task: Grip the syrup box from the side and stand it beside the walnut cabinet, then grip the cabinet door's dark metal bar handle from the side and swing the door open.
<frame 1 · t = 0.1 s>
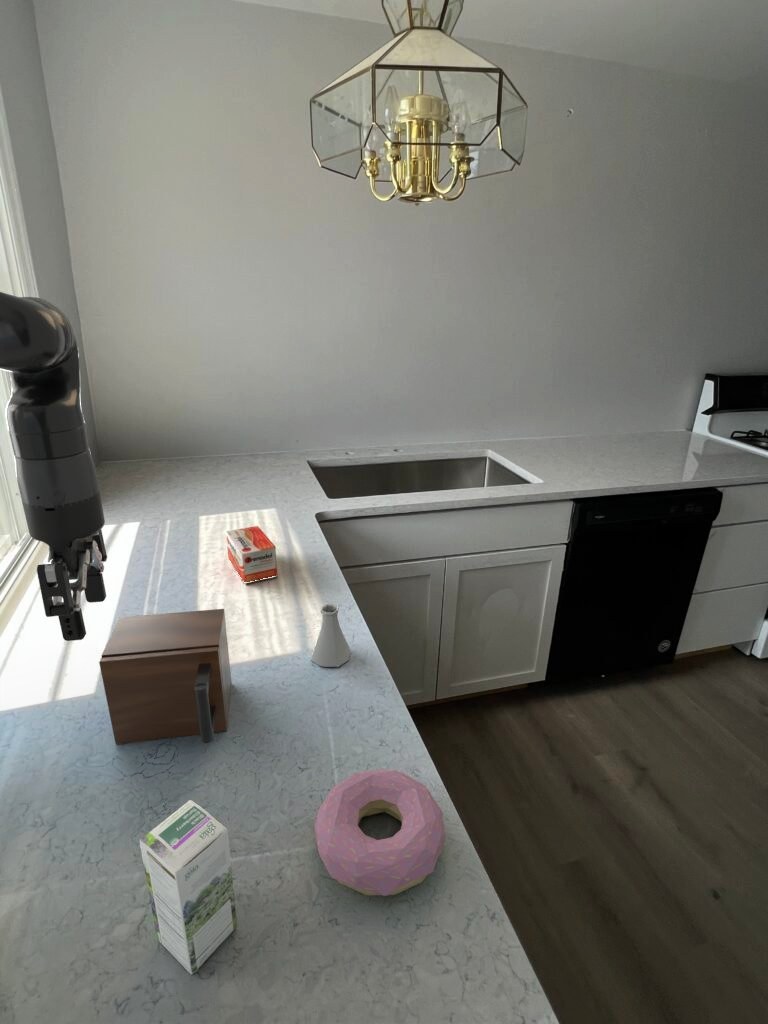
hand: (86, 618, 67), 24 cm above the worktop, tool pointing down, fingers open, 8 cm apart
syrup box: (199, 936, 57), on the worktop
medicine box: (252, 569, 133), on the worktop
donut: (379, 842, 67), on the worktop
cabinet: (178, 709, 87), on the worktop
flask: (330, 657, 101), on the worktop
door: (163, 709, 77), point 7 cm above the worktop, hinge at 0.0°
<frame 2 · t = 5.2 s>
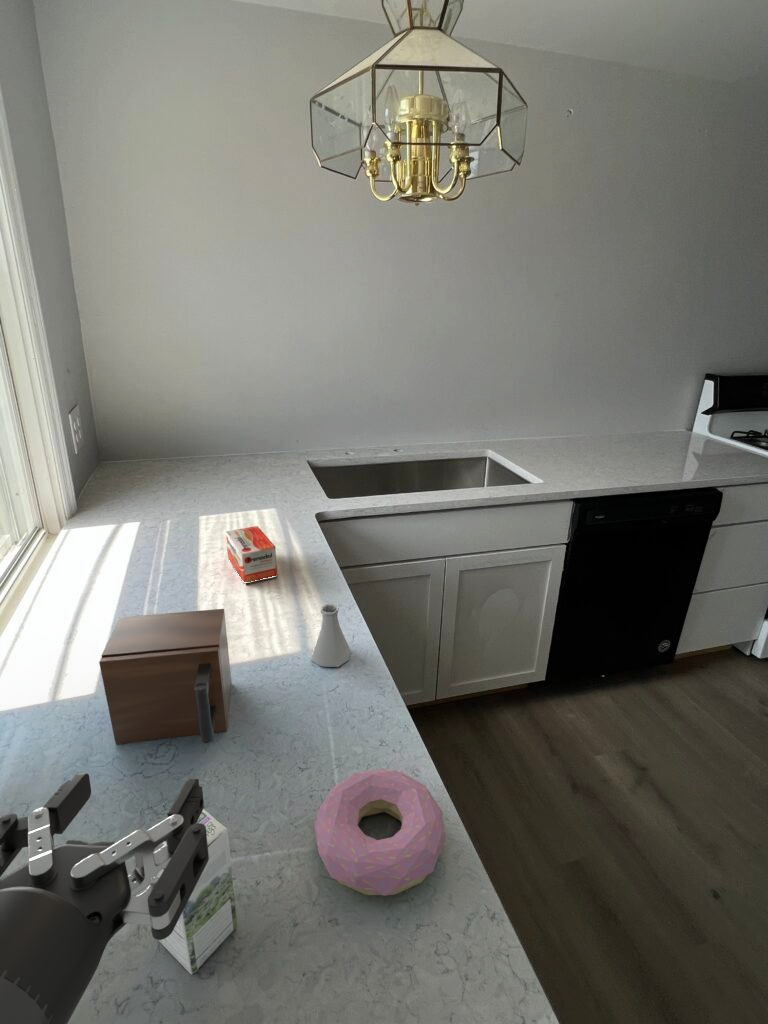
hand: (139, 785, 42), 26 cm above the worktop, tool horizontal, fingers open, 8 cm apart
nothing on the worktop moved.
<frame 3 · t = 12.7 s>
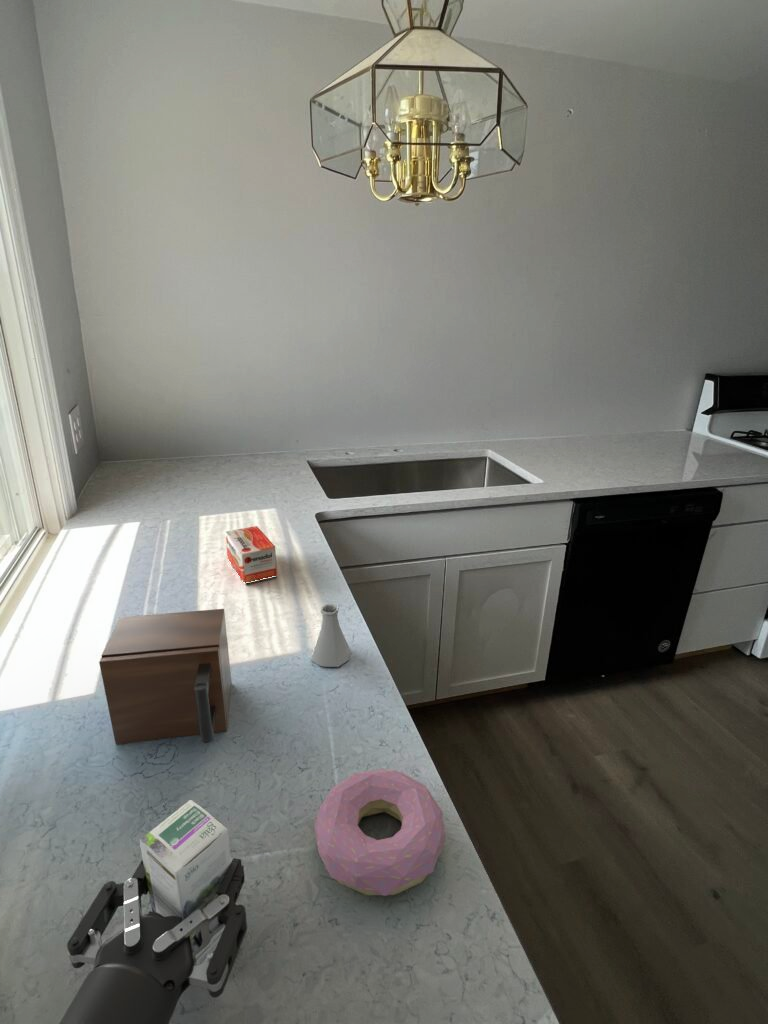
hand: (199, 857, 56), 8 cm above the worktop, tool horizontal, fingers closed on syrup box, 7 cm apart
syrup box: (199, 936, 57), on the worktop, touching gripper
everything else where it was.
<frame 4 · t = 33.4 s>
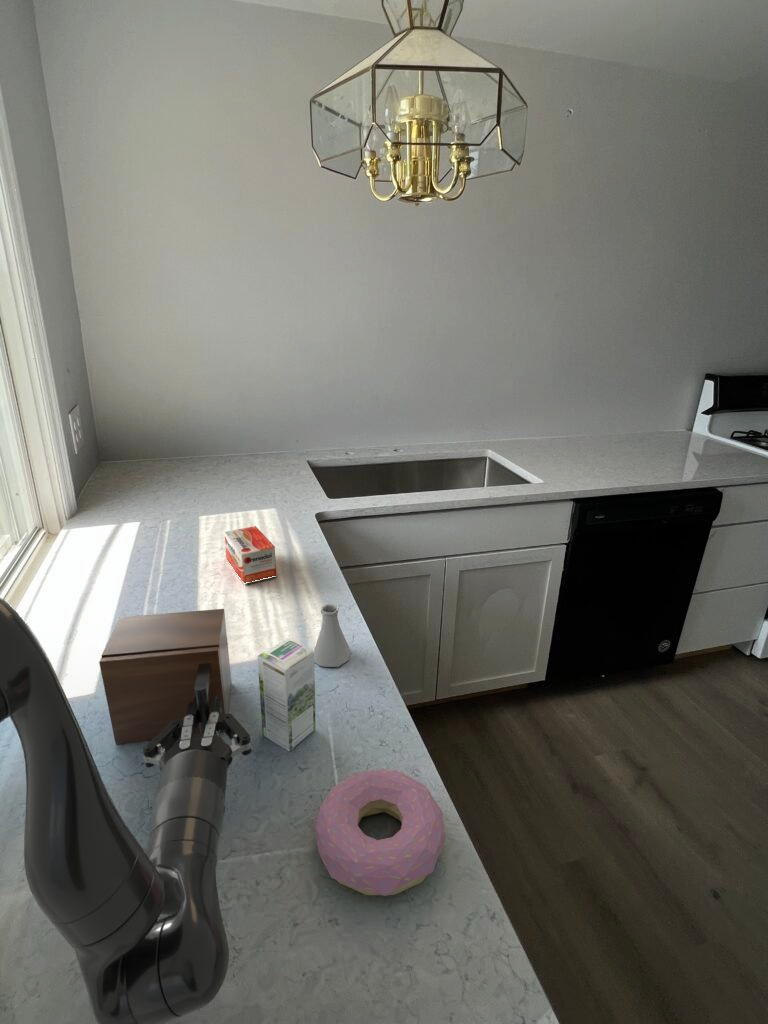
hand: (205, 701, 78), 8 cm above the worktop, tool horizontal, fingers closed on door
syrup box: (290, 734, 83), on the worktop
door: (163, 709, 77), point 7 cm above the worktop, hinge at 0.0°, touching gripper
everything else where it was.
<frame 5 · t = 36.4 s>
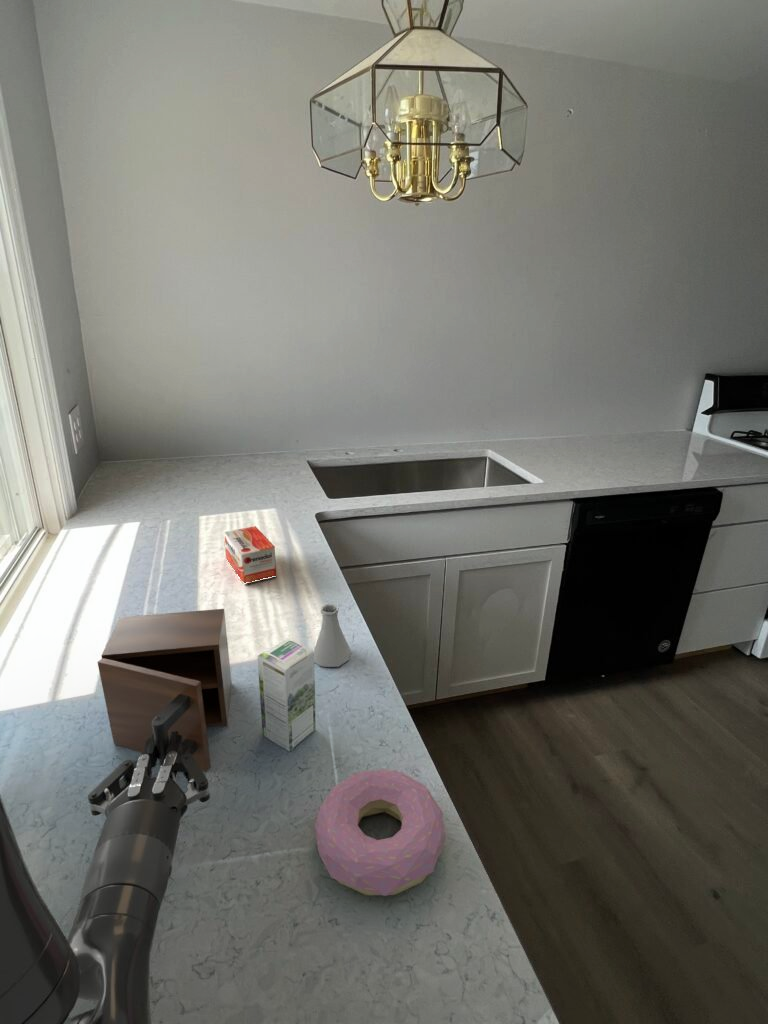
hand: (166, 737, 71), 8 cm above the worktop, tool horizontal, fingers closed on door
door: (140, 729, 73), point 7 cm above the worktop, hinge at 28.5°, touching gripper
everything else where it was.
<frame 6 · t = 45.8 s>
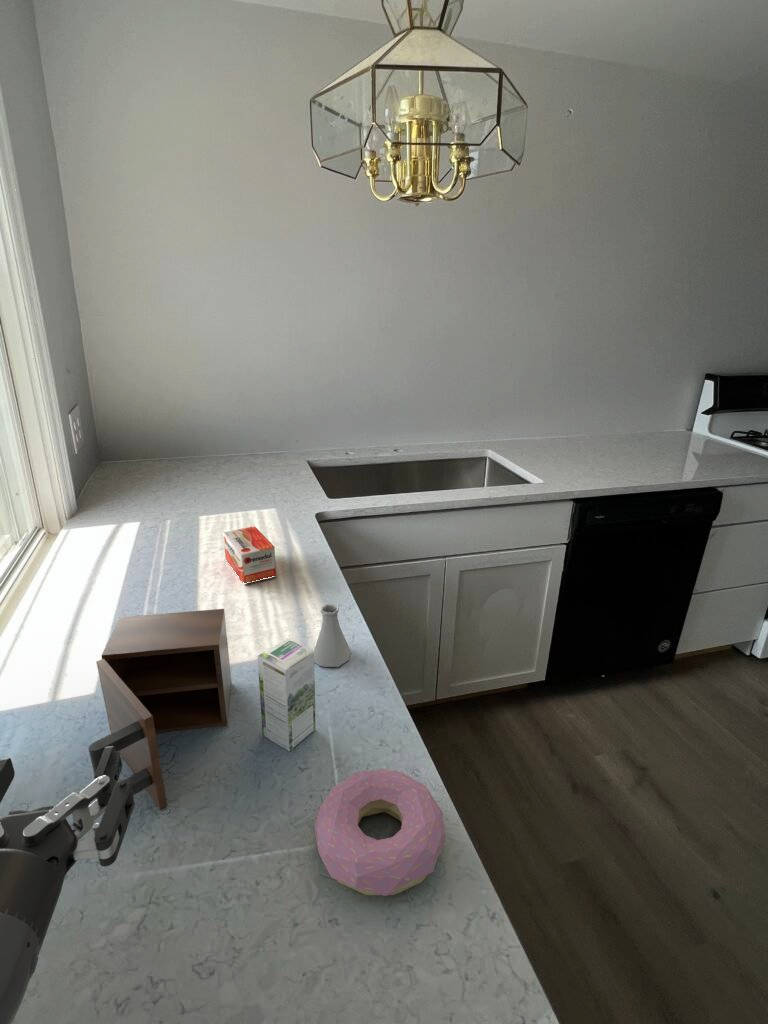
hand: (60, 759, 50), 22 cm above the worktop, tool horizontal, fingers open, 8 cm apart
door: (107, 742, 71), point 7 cm above the worktop, hinge at 56.0°
everything else where it was.
at the end: syrup box inside the target area (0.2 cm from its centre), on the worktop; syrup box tilted 0°; door at +56° (first picture: +0°) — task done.
